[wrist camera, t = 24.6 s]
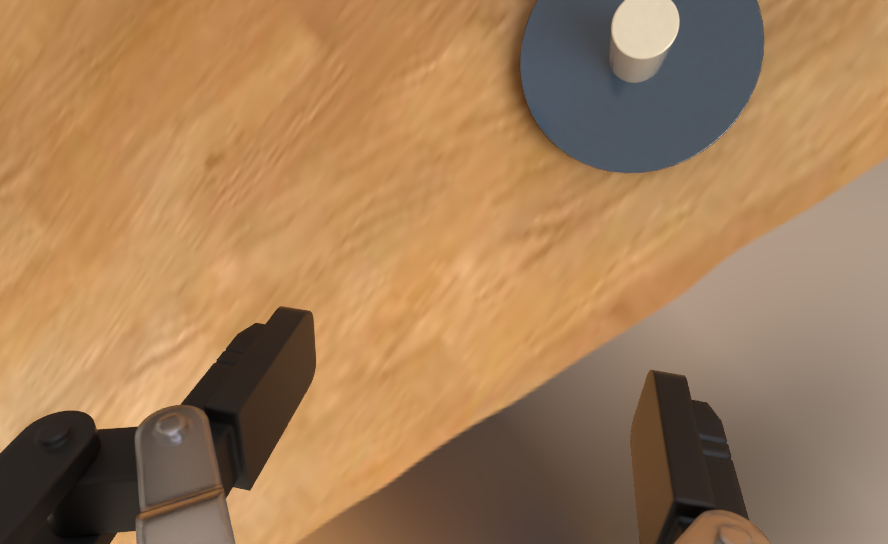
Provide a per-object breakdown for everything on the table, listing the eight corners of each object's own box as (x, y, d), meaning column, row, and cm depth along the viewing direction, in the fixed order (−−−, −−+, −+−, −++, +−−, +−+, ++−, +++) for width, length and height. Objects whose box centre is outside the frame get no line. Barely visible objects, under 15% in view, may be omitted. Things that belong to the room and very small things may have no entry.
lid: (486, 20, 34) (457, -23, 27) (695, -109, 31) (723, -196, 24) (580, 211, 34) (576, 217, 27) (799, 104, 31) (858, 79, 24)
